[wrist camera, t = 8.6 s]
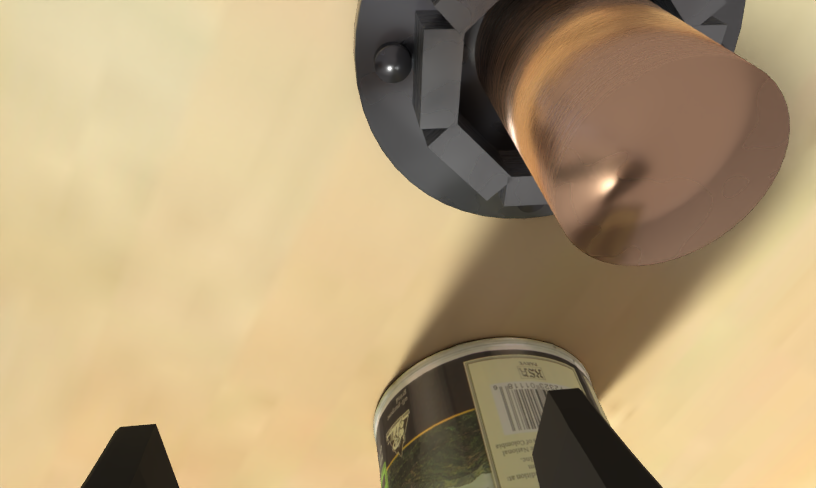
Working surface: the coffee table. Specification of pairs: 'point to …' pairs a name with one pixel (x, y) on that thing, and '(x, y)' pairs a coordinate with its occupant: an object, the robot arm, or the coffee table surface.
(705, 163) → the pipe stub
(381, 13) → the flange
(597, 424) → the robot arm
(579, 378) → the coffee can
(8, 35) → the coffee table surface
